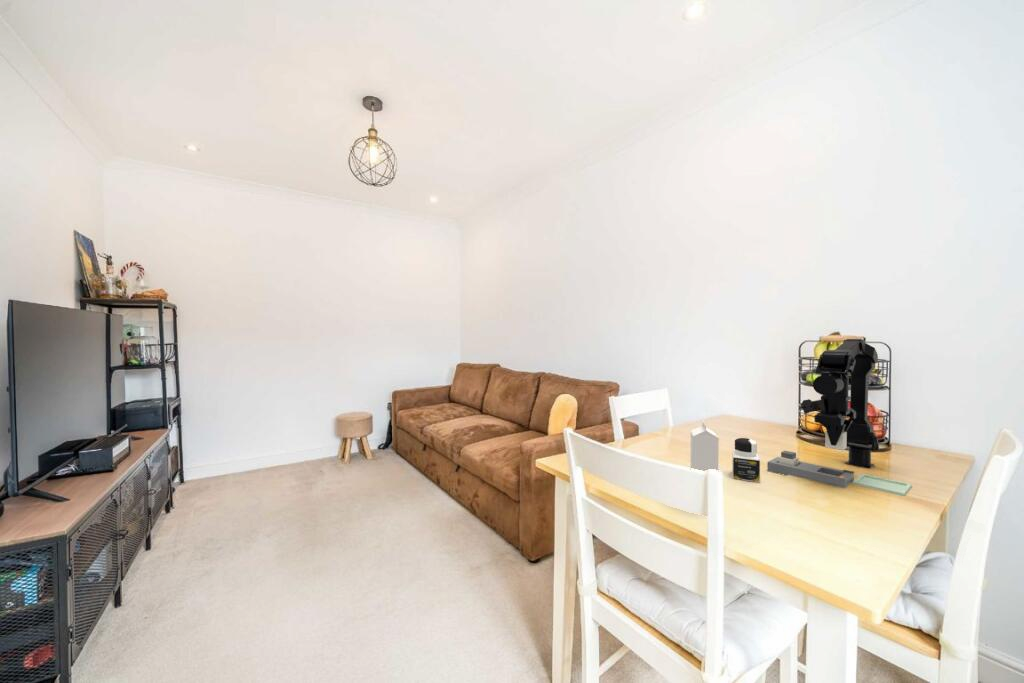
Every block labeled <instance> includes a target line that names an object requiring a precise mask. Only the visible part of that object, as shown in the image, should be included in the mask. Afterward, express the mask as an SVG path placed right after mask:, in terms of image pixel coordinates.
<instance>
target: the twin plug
mask: <svg viewBox="0 0 1024 683" xmlns="http://www.w3.org/2000/svg"><path fill="white" fill-rule="evenodd" d="M778 457H779V463H781V464H786V465H790V466H795V467H796V466H798V461H799V457H797V452H794V451H789V450H782V451H781V452H780V456H778Z"/></svg>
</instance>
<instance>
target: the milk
mask: <svg viewBox="0 0 1024 683" xmlns="http://www.w3.org/2000/svg"><path fill="white" fill-rule="evenodd" d="M719 448H720V447H719V436H718V435H717V434H716V432H715V431H713V430H711V429H709V428H708V427H707V424H706V423H705V421H704V420H703V419H702V420H701V425H699V426H698V427H696V428H694V429H692V430H690V469H691V468H694V469H698V470H703V471H705V470H708V469H716V470H718V471H719V461H720V460H719V455H720V454H719V450H720V449H719Z"/></svg>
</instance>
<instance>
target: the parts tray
mask: <svg viewBox="0 0 1024 683" xmlns="http://www.w3.org/2000/svg"><path fill="white" fill-rule="evenodd" d="M852 485H854V486H859V487H863V488H868V489H872V490H875V491H880V492H884V493H889V494H893V495H896V496H897V495H898V496H901V497H905V496H906V495H907V494H908V493H909V491H910V490H911V488H912V487H913V484H912V483H908V482H905V481H904V482H903V481H898V480H893V479H891V478H884V477H881V476H880V477H879V476H874V475H870V474H866V473H861V474H860V475H858V476H857V477H856V478H855V479H854V481H853V482H852Z"/></svg>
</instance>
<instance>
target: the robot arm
mask: <svg viewBox="0 0 1024 683" xmlns="http://www.w3.org/2000/svg"><path fill="white" fill-rule="evenodd" d="M878 358H879V357H878V352H877V350H876V347H873V346H872V345H870V344H868V343H866V341H865V339H861V338H847V339H844V340H843V342H842V343H841V344H840V345H839V346H838V347H837V348H835V349H827V350H824V351H823V352H822V353H821V354H820V355H819V358H818V361H817V365H816V368H815V369H816V370H815V374H820V375H819V376H817V377H816V378H815V379H814V380H813V382H812V388H813V389H814V391H815V392H816V393H818V394H819V395H821V396H820V399H817V400H811V399H810V398H809V399H804V400H802V403H800V410H803V414H809V413H813V412H817V413H816V414H815V415H814V416H813V417H814V423H817V424H820V425H821V426H822V427H824V428H825V430H826V431H827V433H828V436H829V440H830V443H831V445H834V446H835V445H836V444H837V442H838V440H839V438H840V436H841V434H842V432H843V430H844V432H847V447H848V459H847V461H846V462H844V464H845V465H849V466H850V465H851V466H855V467H859V468H865V469H872V467H874V466H875V463H872V452H876V451H877V452H879V451H880V443H879V439H878V437H877V434H876V432H874V430H875V429H874V426H873V424H872V423H871V421H870V420H869V419H868V412H869V410H868V409H869V408H868V406H869V405H868V404H869V377H870V376H869V375H871V374H872V372H873V371H874V370H875V369H876V364H878V360H879V359H878ZM849 376H850V388H849ZM849 389H850V395H849ZM849 401H850V402H849ZM849 403H850V404H849ZM819 411H820V412H819ZM847 418H848V419H847Z"/></svg>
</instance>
